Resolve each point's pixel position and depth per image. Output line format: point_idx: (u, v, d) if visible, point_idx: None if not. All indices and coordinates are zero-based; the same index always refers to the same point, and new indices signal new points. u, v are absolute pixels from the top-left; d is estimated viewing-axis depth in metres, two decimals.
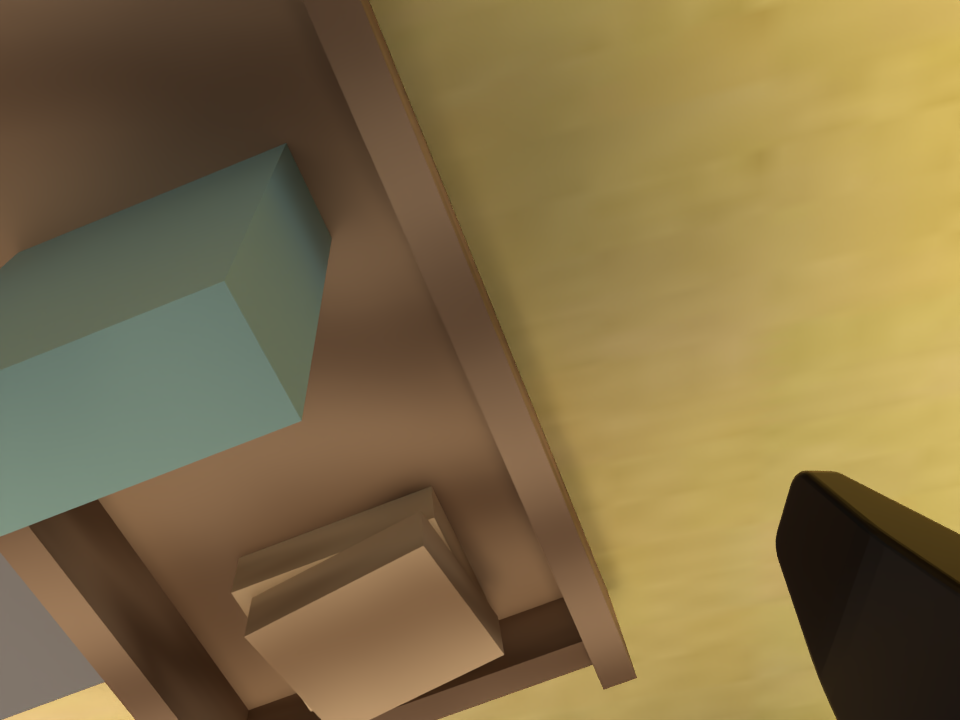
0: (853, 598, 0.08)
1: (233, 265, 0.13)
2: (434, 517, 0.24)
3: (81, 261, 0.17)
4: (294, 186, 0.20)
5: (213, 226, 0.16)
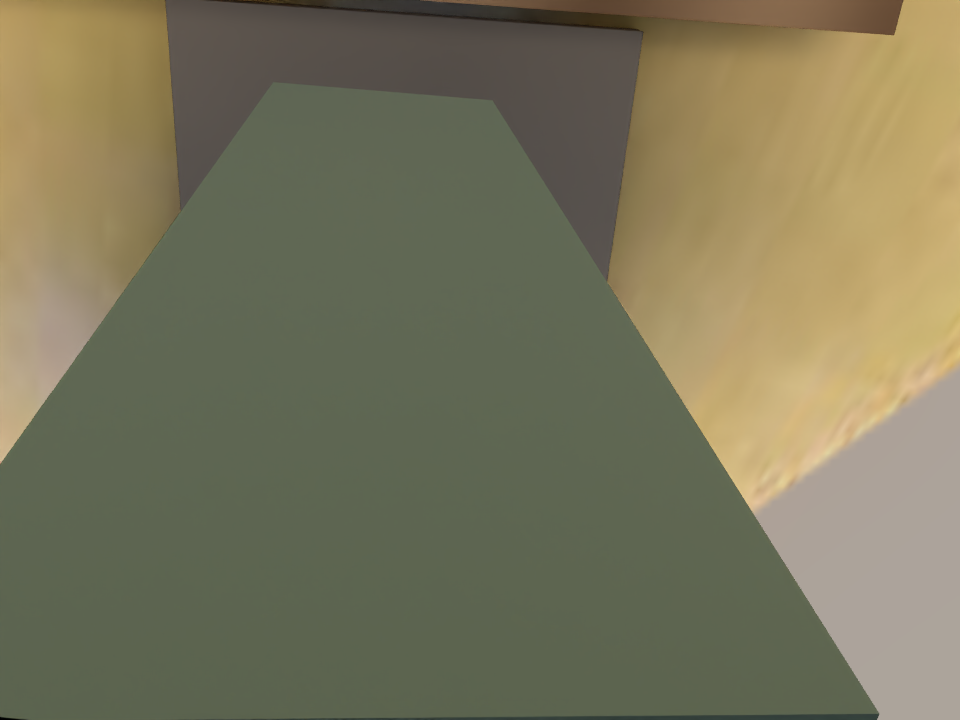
0: None
1: None
2: None
3: None
4: (330, 109, 0.09)
5: None
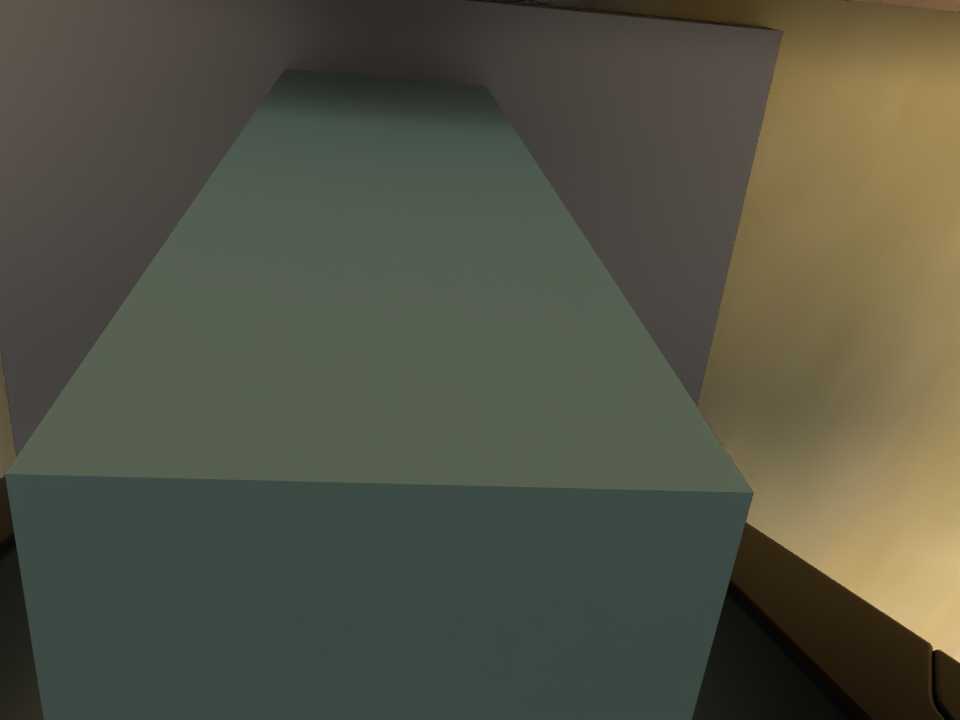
0: None
1: (88, 370, 0.03)
2: None
3: None
4: (338, 93, 0.10)
5: None
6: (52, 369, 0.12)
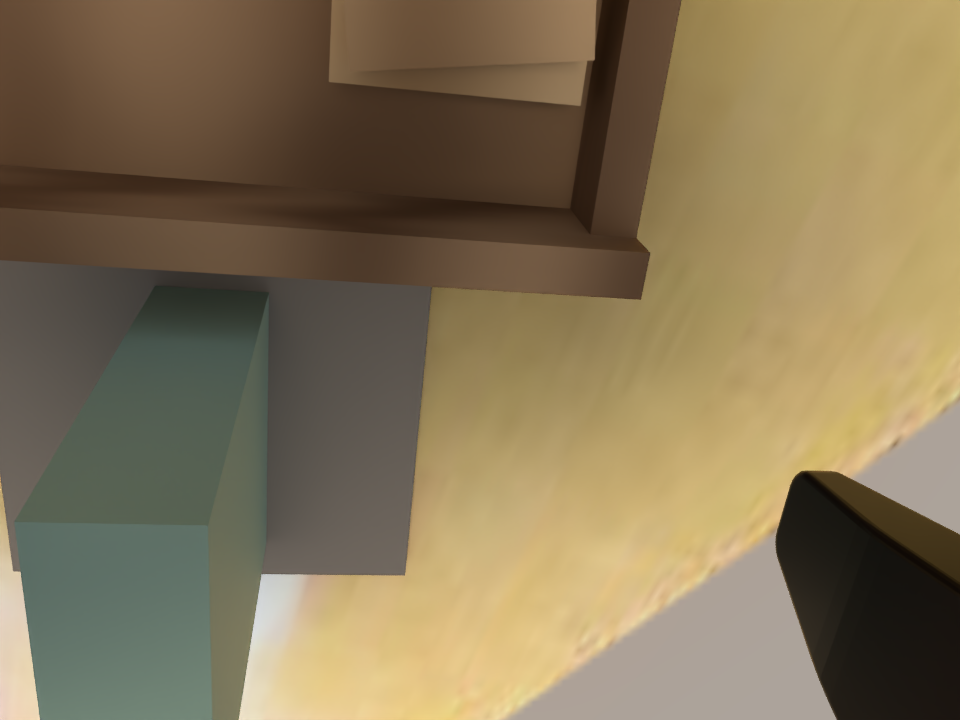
0: (853, 598, 0.08)
1: (35, 491, 0.12)
2: None
3: None
4: (176, 310, 0.19)
5: None
6: (24, 444, 0.21)
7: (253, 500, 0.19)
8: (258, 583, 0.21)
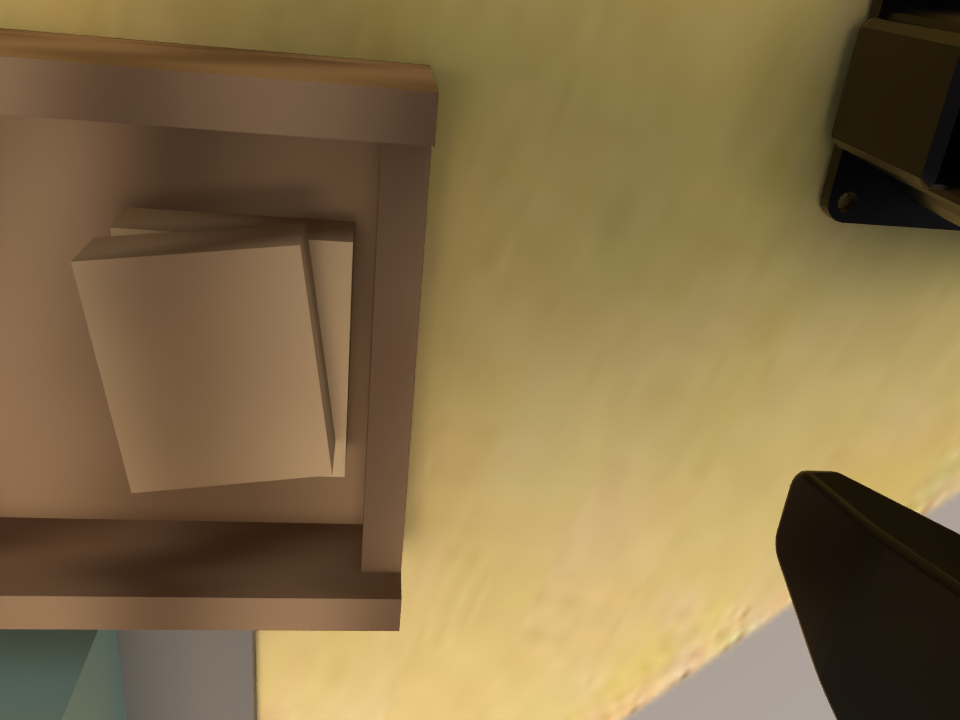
0: (853, 598, 0.08)
1: None
2: (112, 227, 0.18)
3: None
4: (26, 629, 0.23)
5: None
6: None
7: None
8: None
